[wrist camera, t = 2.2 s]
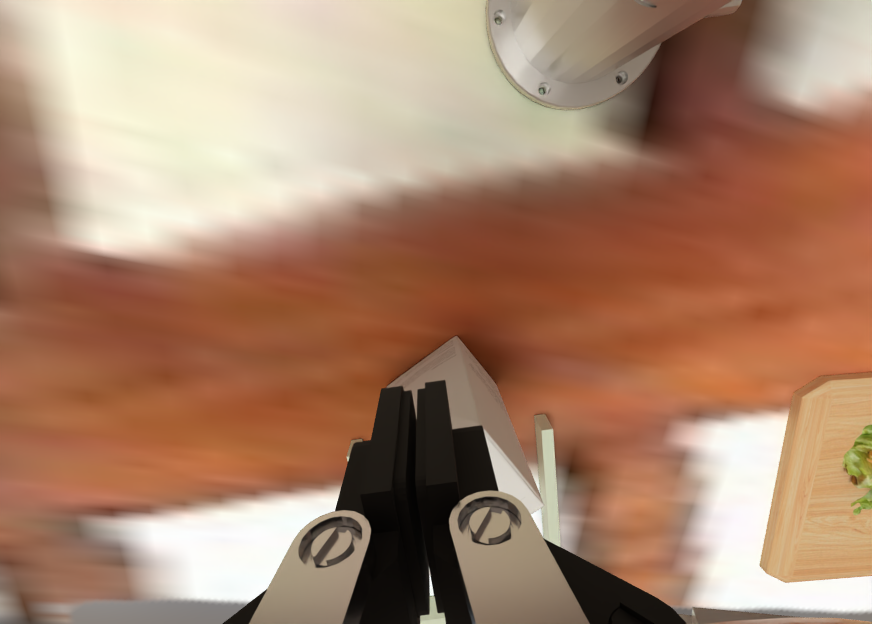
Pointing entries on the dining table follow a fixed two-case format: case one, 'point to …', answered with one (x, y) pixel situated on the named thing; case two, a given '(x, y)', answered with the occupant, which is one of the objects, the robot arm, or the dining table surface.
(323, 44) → the dining table surface
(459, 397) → the skincare box
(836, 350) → the dining table surface
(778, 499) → the cutting board
